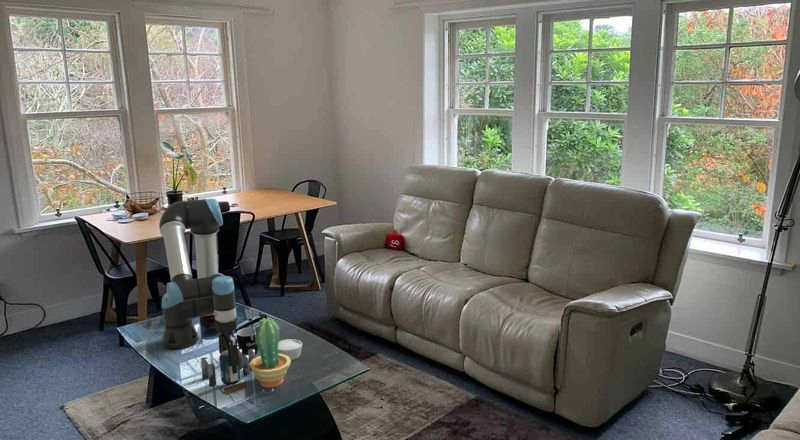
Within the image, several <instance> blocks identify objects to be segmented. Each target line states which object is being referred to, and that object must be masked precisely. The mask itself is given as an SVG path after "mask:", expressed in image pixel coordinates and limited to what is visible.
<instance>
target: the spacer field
mask: <svg viewBox="0 0 800 440" xmlns="http://www.w3.org/2000/svg"><path fill="white" fill-rule="evenodd" d="M237 347H238V344H237ZM238 355H239V363H240V364H239V366H240V370H242V376H243V375H244V376H243V377H248V376H247V375H249V376H250V375H251V372H250V371H252V370H251V368H250V365H249V364H250V362H251V361H252V360H253V359H254V358H256V355H255V349H253V348H251V349H248V354H244V355H242V349H241V348H239V347H238ZM200 364H201V365H200V366H201V374H202V375H201V376H202V380H208V383H209V384H208V385H209V387H215V386H217V375H216V365H215V363H209V358H208V357H207V356H205V357H204V356H203V357H201V358H200ZM242 368H243V369H242Z"/></svg>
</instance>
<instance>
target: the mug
mask: <svg viewBox="0 0 800 440" xmlns="http://www.w3.org/2000/svg"><path fill="white" fill-rule="evenodd" d="M251 328H252V326H251V327H250V326H249V327H243V328H241V329H238V330H237V331H236V339H237V345H238V348H241V349H242V355H244V354H248V349H251V348H253V349H255V356H257V354H258V353H259V348H258V346H257V344H256V342H255V335H254V334H253V340H252V339H251V337H250V330H251Z"/></svg>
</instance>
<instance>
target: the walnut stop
mask: <svg viewBox="0 0 800 440" xmlns="http://www.w3.org/2000/svg"><path fill="white" fill-rule="evenodd" d="M248 386H249V385H248V382H247V381H246V380H245V381H243V382H238V383H236V384H234V385H227V386H225V387H223V392H224V394H223V395H225V396H228V395H231V394H235V393H237V392H240V391H244V390H247V389H248Z"/></svg>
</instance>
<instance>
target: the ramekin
mask: <svg viewBox="0 0 800 440" xmlns="http://www.w3.org/2000/svg"><path fill="white" fill-rule="evenodd" d="M302 348H303V342H302V341H301V340H299V339H294V338H292V339H291V338H288V339H287V338H286V339H282V340H279V343H278V354H283V355H286V356H289V358H290V360H291V361H293V360H296V359H298V358H300V356H301V353H302Z"/></svg>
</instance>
